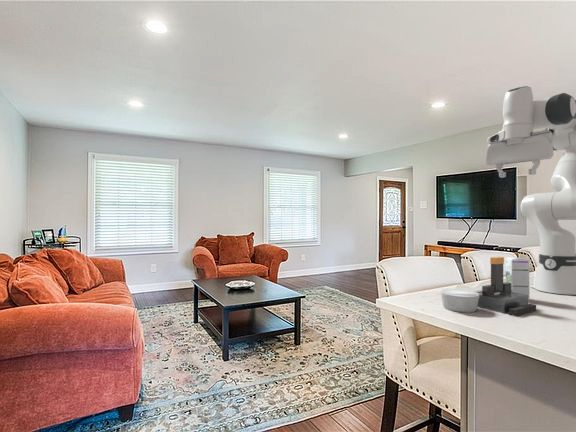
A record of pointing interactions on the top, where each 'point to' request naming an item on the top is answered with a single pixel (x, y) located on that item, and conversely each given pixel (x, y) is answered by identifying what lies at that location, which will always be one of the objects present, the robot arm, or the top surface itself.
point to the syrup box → (518, 275)
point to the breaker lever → (497, 273)
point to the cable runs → (522, 310)
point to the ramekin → (460, 300)
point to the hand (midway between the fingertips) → (516, 176)
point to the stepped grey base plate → (500, 298)
